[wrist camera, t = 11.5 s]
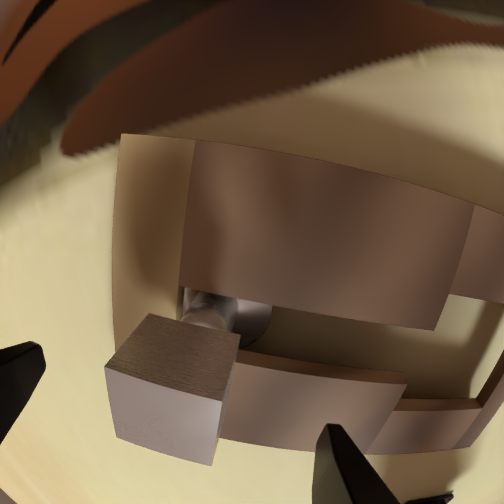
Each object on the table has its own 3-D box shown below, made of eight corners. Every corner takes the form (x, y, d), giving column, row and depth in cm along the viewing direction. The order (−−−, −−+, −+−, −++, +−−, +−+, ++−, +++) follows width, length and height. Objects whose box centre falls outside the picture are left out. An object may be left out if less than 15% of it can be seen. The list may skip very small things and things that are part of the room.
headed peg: (282, 256, 14) (275, 378, 6) (263, 346, 16) (240, 486, 8) (177, 236, 14) (67, 321, 6) (170, 326, 16) (94, 442, 8)
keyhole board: (541, 232, 12) (572, 246, 9) (456, 418, 16) (469, 446, 13) (153, 137, 13) (121, 133, 10) (141, 378, 17) (122, 409, 15)
